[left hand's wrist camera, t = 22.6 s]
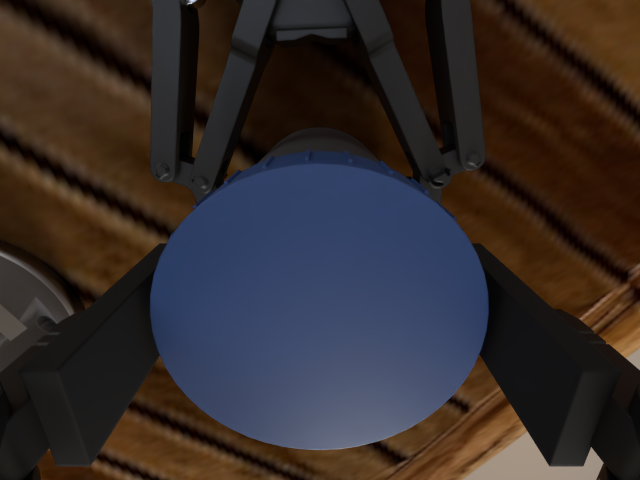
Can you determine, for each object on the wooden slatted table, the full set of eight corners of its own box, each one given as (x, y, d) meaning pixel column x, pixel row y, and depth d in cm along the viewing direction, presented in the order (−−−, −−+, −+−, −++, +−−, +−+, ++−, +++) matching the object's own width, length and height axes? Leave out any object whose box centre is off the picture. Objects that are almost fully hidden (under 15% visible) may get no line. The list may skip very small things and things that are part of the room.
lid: (117, 222, 11) (73, 249, 9) (412, 92, 10) (437, 90, 8) (256, 428, 15) (246, 481, 13) (491, 354, 13) (522, 400, 11)
